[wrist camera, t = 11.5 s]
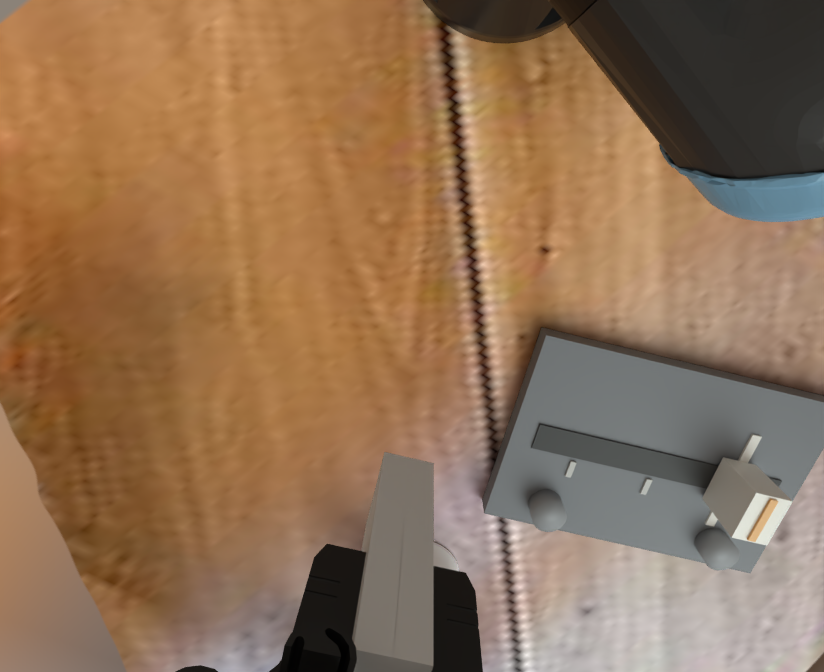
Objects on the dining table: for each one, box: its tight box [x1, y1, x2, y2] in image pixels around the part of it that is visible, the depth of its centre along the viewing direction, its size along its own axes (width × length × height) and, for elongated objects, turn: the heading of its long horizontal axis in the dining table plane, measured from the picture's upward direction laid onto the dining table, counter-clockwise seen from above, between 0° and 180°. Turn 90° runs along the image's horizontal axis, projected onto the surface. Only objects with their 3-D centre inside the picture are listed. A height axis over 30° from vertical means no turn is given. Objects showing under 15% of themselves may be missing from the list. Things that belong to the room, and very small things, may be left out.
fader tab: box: [702, 457, 793, 546], centre depth 44 cm, size 4×3×5 cm
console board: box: [482, 328, 824, 573], centre depth 47 cm, size 18×26×4 cm
